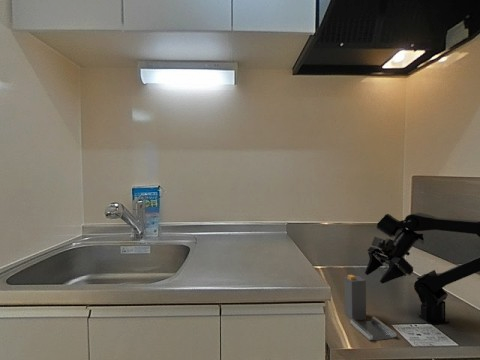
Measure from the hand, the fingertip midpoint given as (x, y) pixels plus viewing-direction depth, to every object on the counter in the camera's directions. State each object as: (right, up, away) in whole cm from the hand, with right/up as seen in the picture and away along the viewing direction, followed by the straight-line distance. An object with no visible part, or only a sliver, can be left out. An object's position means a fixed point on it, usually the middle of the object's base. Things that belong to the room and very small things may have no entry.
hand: (373, 278), depth 111 cm
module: (-7, -13, -1) cm, 14 cm away
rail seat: (-5, -13, -11) cm, 18 cm away
